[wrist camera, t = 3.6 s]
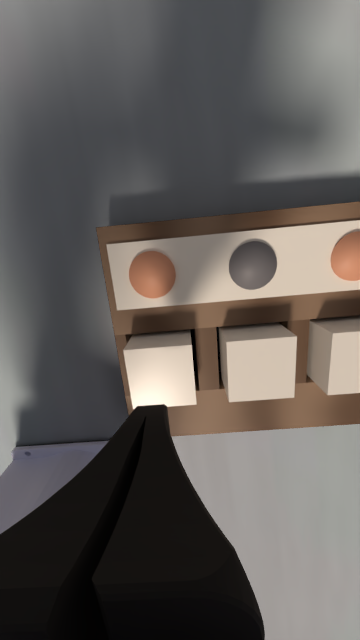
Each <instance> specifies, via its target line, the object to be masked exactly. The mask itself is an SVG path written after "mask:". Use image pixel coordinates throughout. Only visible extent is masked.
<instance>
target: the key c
mask: <svg viewBox="0 0 360 640" xmlns="http://www.w3.org/2000/svg"><path fill="white" fill-rule="evenodd" d="M307 375H308V376H309V377H310V378H311V379H312V380H313V381H314V382H315V383H316V384H317V385H318V386H319V387H320V388H321V389H322V390H323V391H324V392H325V393H326V394H327V395H338V394H352V393H360V315H355V316H343V317H331V318H319V319H310V325H309V342H308V359H307Z"/></svg>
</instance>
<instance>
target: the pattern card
mask: <svg viewBox="0 0 360 640" xmlns="http://www.w3.org/2000/svg"><path fill="white" fill-rule="evenodd" d="M106 246H107V252H108V258H109V264H110V270H111V276H112V282H113V288H114V294H115V300H116V306H117V310H129V309H140V308H152V307H163V306H175V305H187V304H198V303H210V302H221V301H233V300H245V299H256V298H268V297H279V296H291V295H303V294H314V293H326V292H337V291H349V290H360V220H356V221H346V222H335V223H325V224H315V225H304V226H294V227H283V228H273V229H263V230H252V231H242V232H231V233H221V234H210V235H200V236H190V237H179V238H169V239H158V240H148V241H138V242H127V243H117V244H106Z"/></svg>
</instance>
